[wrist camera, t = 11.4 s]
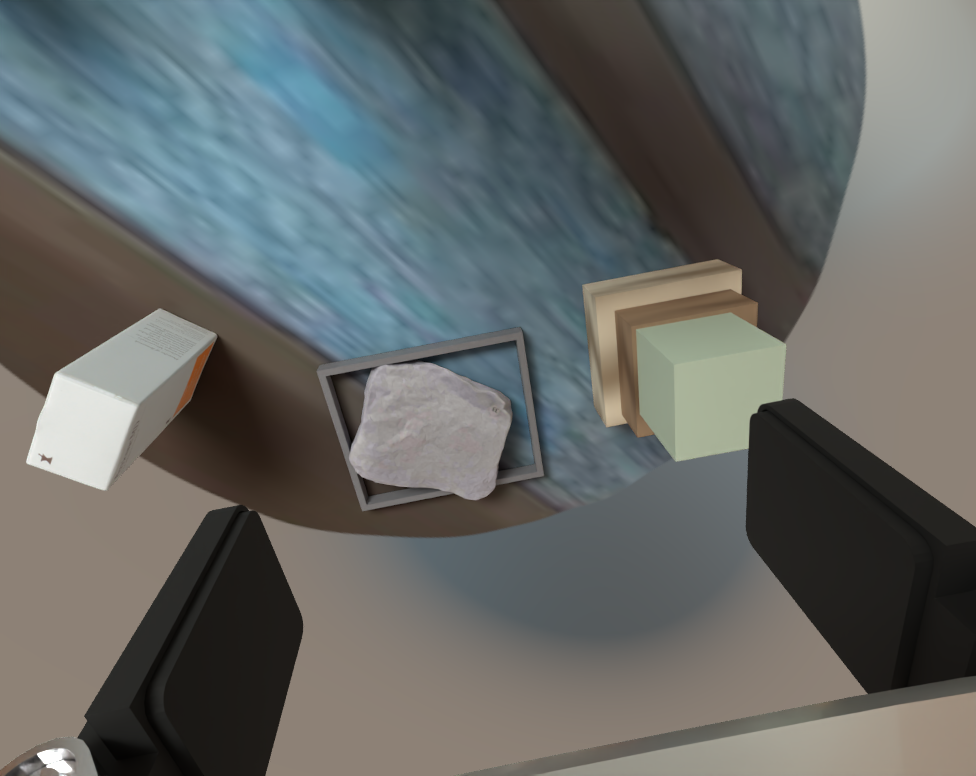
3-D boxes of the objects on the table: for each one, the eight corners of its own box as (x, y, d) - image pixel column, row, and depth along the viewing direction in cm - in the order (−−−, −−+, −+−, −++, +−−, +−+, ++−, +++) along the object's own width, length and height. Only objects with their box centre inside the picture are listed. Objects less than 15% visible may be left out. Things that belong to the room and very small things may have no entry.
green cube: (635, 329, 34) (674, 364, 29) (730, 312, 34) (786, 344, 29) (639, 414, 37) (675, 461, 31) (728, 398, 37) (779, 442, 31)
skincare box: (192, 401, 41) (105, 496, 30) (133, 376, 40) (19, 465, 29) (222, 332, 39) (140, 407, 28) (160, 304, 38) (49, 370, 27)
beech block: (580, 283, 40) (595, 297, 37) (714, 257, 41) (742, 269, 37) (592, 403, 45) (606, 427, 41) (713, 380, 45) (738, 401, 41)
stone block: (372, 342, 43) (350, 461, 45) (364, 352, 39) (340, 484, 41) (518, 373, 45) (491, 486, 47) (528, 385, 40) (497, 510, 42)
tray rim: (319, 365, 41) (316, 371, 40) (519, 326, 41) (522, 332, 40) (363, 502, 46) (362, 511, 45) (541, 468, 46) (544, 475, 45)
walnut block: (614, 310, 37) (631, 326, 34) (730, 289, 37) (757, 303, 34) (621, 414, 41) (637, 437, 37) (728, 394, 41) (753, 415, 38)
